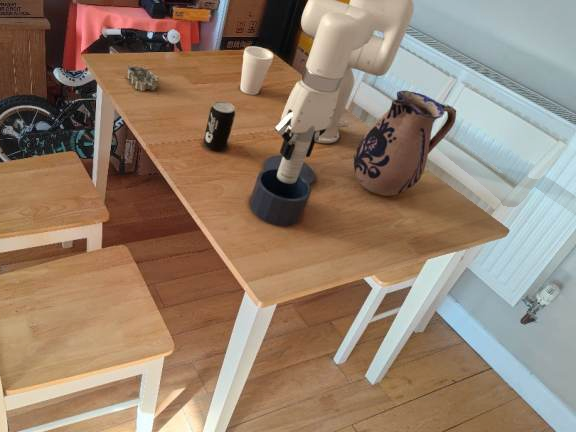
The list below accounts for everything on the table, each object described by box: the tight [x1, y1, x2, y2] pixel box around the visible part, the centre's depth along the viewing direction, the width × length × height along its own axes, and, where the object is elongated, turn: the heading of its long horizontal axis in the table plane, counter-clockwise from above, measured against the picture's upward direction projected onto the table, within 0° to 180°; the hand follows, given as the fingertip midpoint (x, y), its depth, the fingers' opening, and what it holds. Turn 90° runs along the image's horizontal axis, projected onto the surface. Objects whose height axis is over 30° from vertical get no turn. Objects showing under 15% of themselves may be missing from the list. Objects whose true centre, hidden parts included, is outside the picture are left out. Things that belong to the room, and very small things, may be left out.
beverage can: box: [203, 100, 236, 152], centre depth 136 cm, size 7×7×12 cm
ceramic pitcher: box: [352, 90, 457, 197], centre depth 131 cm, size 18×21×25 cm
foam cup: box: [239, 45, 274, 96], centre depth 166 cm, size 10×9×13 cm
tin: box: [249, 167, 312, 227], centre depth 121 cm, size 13×13×8 cm
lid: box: [263, 154, 316, 186], centre depth 134 cm, size 14×14×6 cm
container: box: [277, 126, 314, 184], centre depth 113 cm, size 5×5×15 cm
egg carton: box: [127, 65, 160, 92], centre depth 160 cm, size 11×8×4 cm
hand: (294, 154), depth 113 cm, fingers closed on container, 4 cm apart
